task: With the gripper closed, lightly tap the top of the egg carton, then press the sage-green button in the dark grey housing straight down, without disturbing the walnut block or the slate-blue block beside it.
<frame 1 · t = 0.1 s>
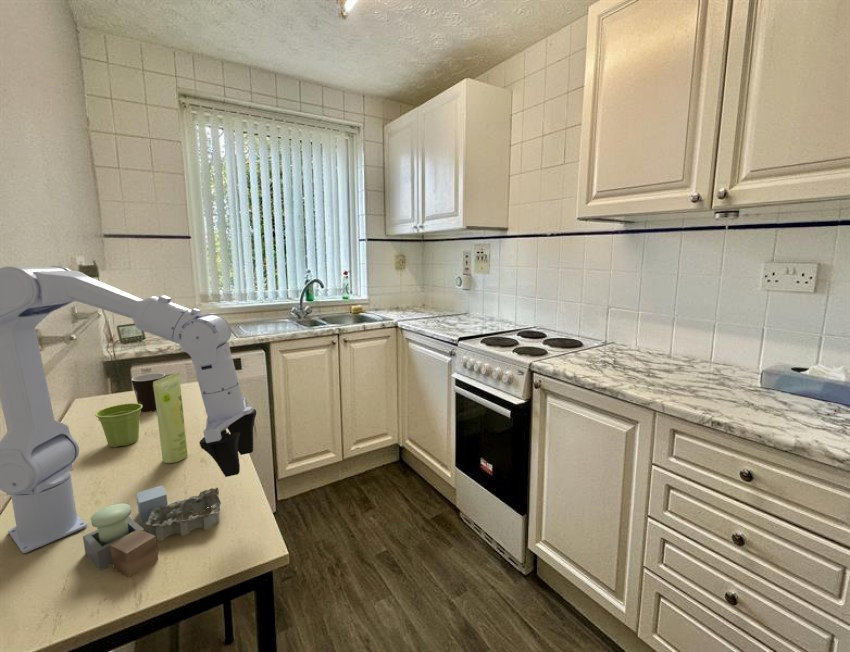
hand: (240, 463, 69), 10 cm above the table, tool pointing down, fingers open, 7 cm apart
button housing: (116, 550, 63), on the table
slate-blue block: (153, 514, 73), on the table
walnut block: (136, 564, 60), on the table
coffee mug: (150, 410, 124), on the table
plant pot: (123, 443, 102), on the table
green button: (112, 525, 63), point 4 cm above the table, slide at 0.0 cm
tube: (174, 459, 93), on the table
egg carton: (187, 525, 70), on the table
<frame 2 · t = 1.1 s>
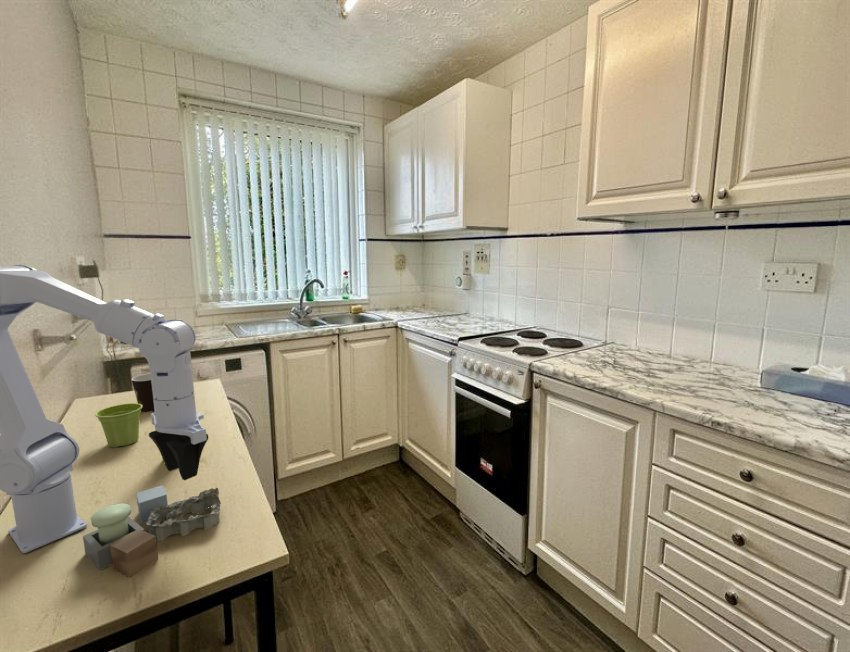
hand: (182, 472, 68), 9 cm above the table, tool pointing down, fingers open, 4 cm apart
nothing on the table moved.
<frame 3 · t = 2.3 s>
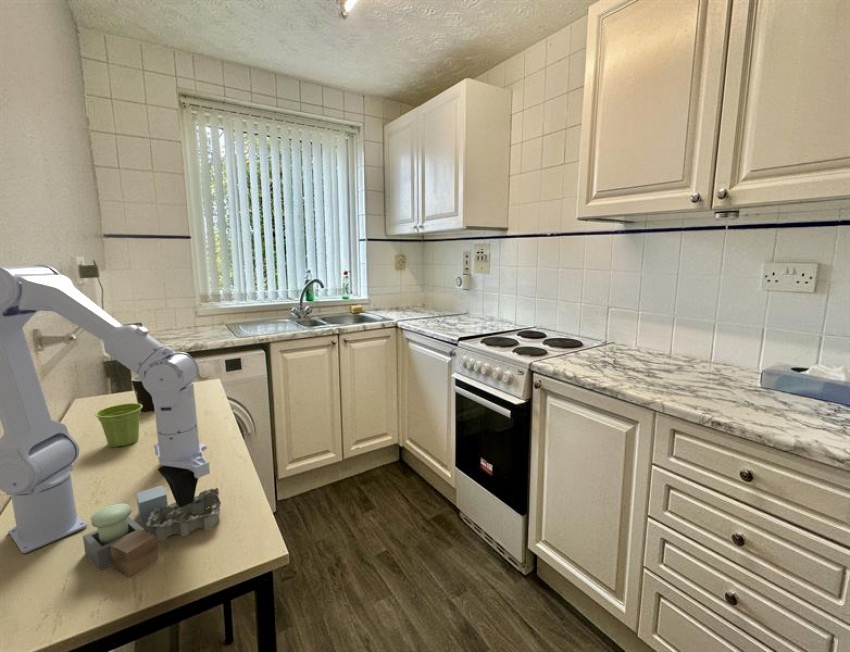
hand: (185, 503, 69), 4 cm above the table, tool pointing down, fingers closed
nothing on the table moved.
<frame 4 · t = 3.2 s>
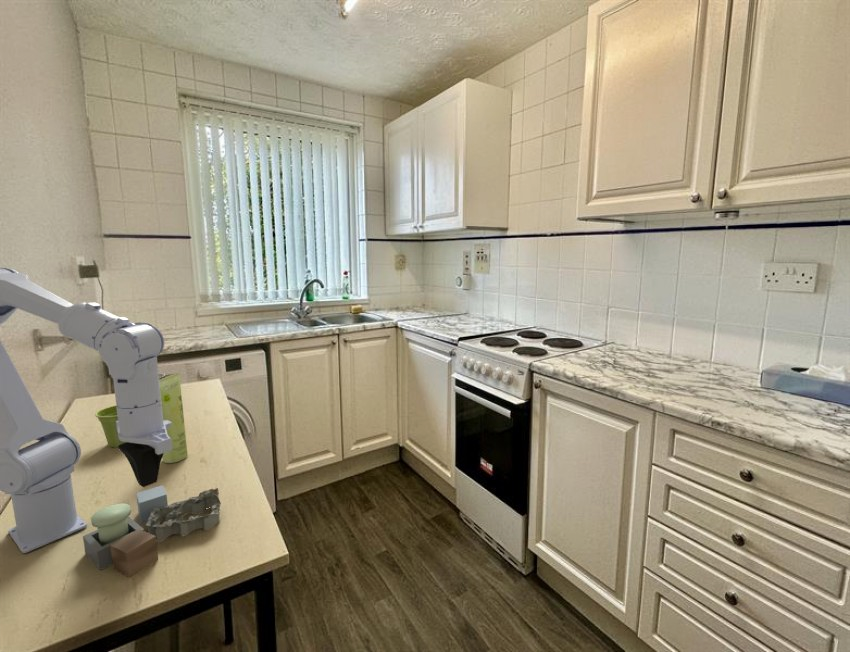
hand: (148, 483, 65), 9 cm above the table, tool pointing down, fingers closed
nothing on the table moved.
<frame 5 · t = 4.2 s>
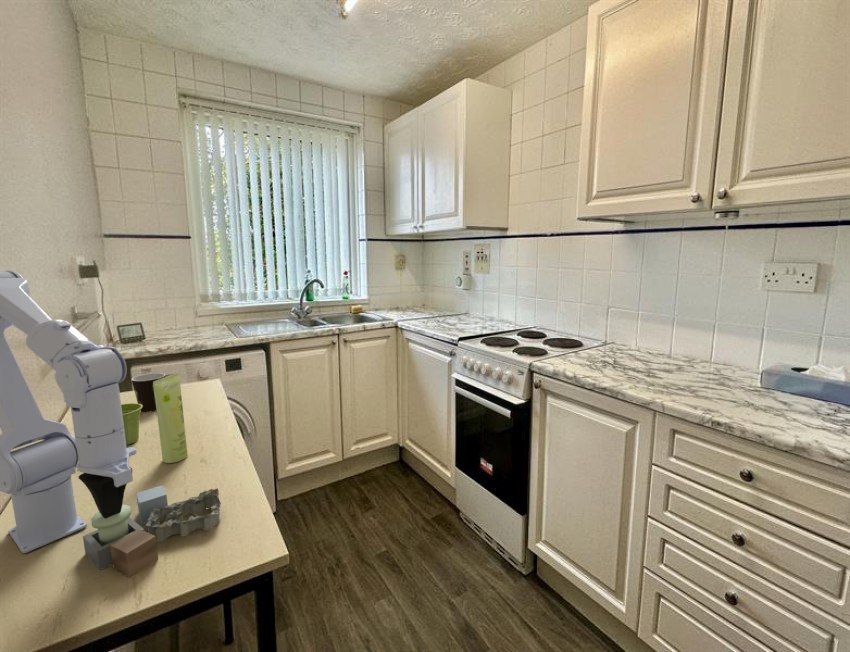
hand: (111, 514, 62), 6 cm above the table, tool pointing down, fingers closed, pressing on green button
green button: (113, 526, 63), point 4 cm above the table, slide at -0.2 cm, touching gripper
everything else where it was.
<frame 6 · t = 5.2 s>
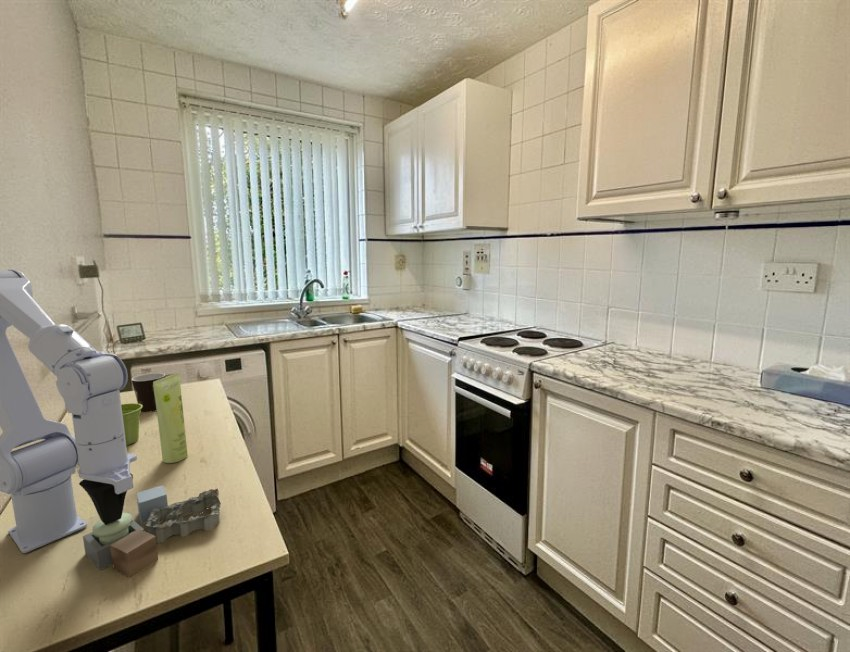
hand: (111, 520, 63), 5 cm above the table, tool pointing down, fingers closed
green button: (114, 535, 63), point 3 cm above the table, slide at -1.6 cm
everything else where it was.
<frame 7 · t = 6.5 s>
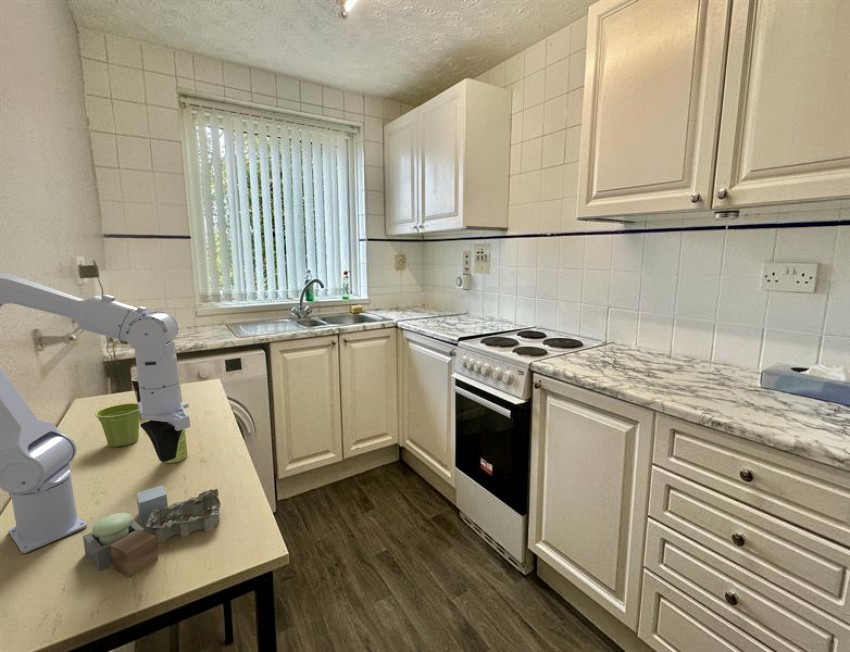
hand: (167, 459, 71), 10 cm above the table, tool pointing down, fingers closed
nothing on the table moved.
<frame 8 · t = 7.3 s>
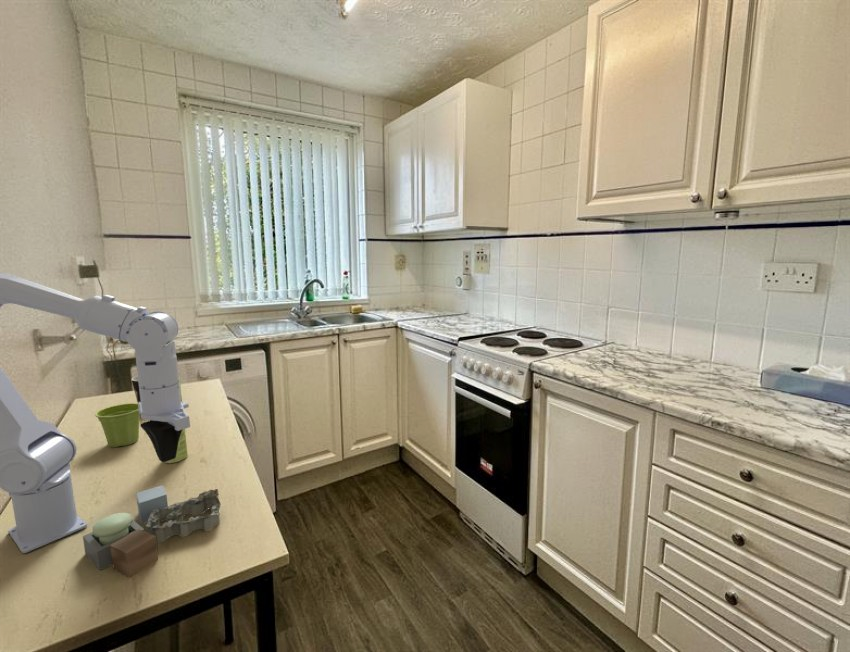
hand: (167, 459, 71), 10 cm above the table, tool pointing down, fingers closed
nothing on the table moved.
at the end: green button slide at -1.6 cm; walnut block moved 0.1 cm from its start; egg carton moved 0.8 cm from its start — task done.
